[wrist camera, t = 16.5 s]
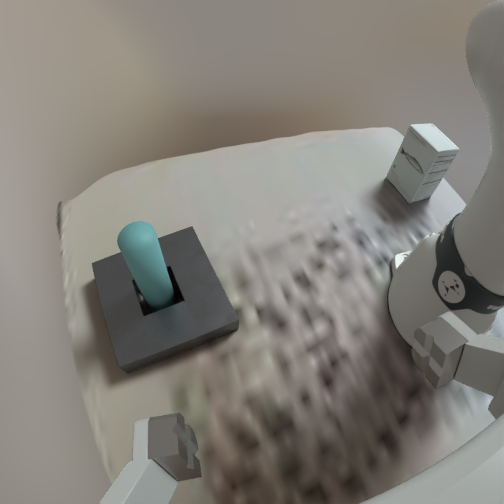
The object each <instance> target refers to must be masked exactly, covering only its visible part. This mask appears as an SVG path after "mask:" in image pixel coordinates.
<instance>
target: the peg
mask: <svg viewBox="0 0 504 504" xmlns="http://www.w3.org/2000/svg"><path fill="white" fill-rule="evenodd" d="M117 242H118V246H119V248H120V250H121V253H122V255H123V257H124V259H125V261H126V263H127V265H128V267H129V269H130V271H131V273H132V275H133V277H134V279H135V281H136V283H137V285H138V287H139V289H140V291H141V293H142V295H143V297H144V299H145V301H146V303H147V305H148V306H149V308H150V310H151V311H152V312H153V313H154V312H157V311H159V310H162V309H165V308H167V307H170V306H172V305H175V304H176V296H175V293H174V290H173V287H172V284H171V281H170V278H169V275H168V271H167V268H166V265H165V262H164V258H163V255H162V252H161V248H160V245H159V241H158V238H157V235H156V231H155V229H154V227H153V226H152V225H151V224H149V223H147V222H142V221H139V222H133V223H131V224H129V225H127V226H126V227H124V228H123V229H122V230H121V232H120V233H119V235H118V240H117Z"/></svg>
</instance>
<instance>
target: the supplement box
mask: <svg viewBox="0 0 504 504" xmlns="http://www.w3.org/2000/svg"><path fill="white" fill-rule="evenodd" d="M458 151H459V148H458V147H457V146H456V145H455V144H454V143H453V142H452V141H450V140H449V139H448V138H447V137H446V136H445V135H444V134H443V133H442V132H441V131H440V130H439V129H438V128H437V127H436V126H434V125H433V124H413V125H410V126H409V128H408V131H407V133H406V135H405V137H404V140H403V142H402V144H401V146H400V148H399V151H398V153H397V155H396V157H395V159H394V161H393V163H392V165H391V168H390V170H389V172H388V174H387V176H386V178H387V179H388V180H389V181H390V182H391V183H392V184H393V185H394V186H395V187H396V189H397V190H398V191H399V192H400V193H401V195H402V196H403V197H404V198H405V200H406V201H407V202H408V203H409V204H410V203H413V202H416V201H419V200H422V199H425V198H428V197H431V195H432V194H433V192H434V191H435V189H436V188H437V186H438V184H439V183H440V181H441V180H442V178H443V176H444V175H445V173H446V171H447V170H448V168H449V166H450V165H451V163H452V161H453V160H454V158H455V156H456V154H457V153H458Z"/></svg>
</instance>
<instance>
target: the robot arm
mask: <svg viewBox="0 0 504 504" xmlns="http://www.w3.org/2000/svg"><path fill="white" fill-rule="evenodd" d="M466 58H467V64H468V68H469V71H470V75H471V78H472V80H473V82H474V85H475V87H476V89H477V90H478V92H479V94H480V96H481V99H482V101H483V103H484V106H485V109H486V112H487V115H488V119H489V125H490V132H491V151H490V158H489V163H488V166H487V169H486V172H485V174H484V176H483V178H482V180H481V182H480V184H479V186H478V188H477V190H476V191H475V193H474V195H473V196H472V198H471V199H470V201H469V203H468V204H467V206H466V207H465V208H464V210H463V211H462V213H459V214H457V215H456V216H455V217H454V218H453V219H452V220H451V221H450V222H448V223H447V225H446V226H445V227H444V229H443V230H442V231H440V232H439V233H438V234H436V233H432V234H431V235H430V236H425V237H424V238H423V239H422V240H421V241H420V242H419V244H418V245H417V246H416V247H415V248H414V249H413V250H411V251H407V252H403V253H399V254H397V255H395V256H394V257H393V258H392V261H391V266H392V273H393V278H392V282H391V285H390V288H389V296H388V301H389V309H390V313H391V317H392V319H393V322H394V324H395V326H396V328H397V330H398V331H399V333H400V334H401V336H402V337H403V338H404V339H405V340H406V341H407V342H408V343H409V344H410V345H411V346H412V357H413V360H414V362H415V364H416V365H417V367H418V368H419V369H421V370H424V371H426V378H427V379H428V380H429V381H430V382H431V384H432V385H433V386H434V387H435V388H436V389H437V388H439V387H440V386H442V385H444V384H446V383H447V382H449V381H451V380H452V379H454V380H456V381H458V382H461V383H463V384H465V385H468V386H470V387H472V388H475V389H477V390H480V391H482V392H484V393H487V394H489V395H492V396H494V397H493V399H492V401H491V403H490V405H489V408H488V410H489V411H490V412H491V414H492V415H493V416H494V417H495V419H496V420H495V421H494V422H492V423H491V424H490V425H489V426H488V427H486V428H485V429H484V430H483V431H481V432H480V433H479V434H477V435H476V436H475V437H474V438H472V439H471V440H469V441H468V442H467V443H465V444H464V445H463V446H461V447H460V448H458V449H457V450H455V451H454V452H453V453H451V454H450V455H448V456H447V457H445V458H444V459H442V460H440V461H439V462H437V463H436V464H434V465H433V466H431V467H429V468H428V469H426V470H424V471H423V472H421V473H419V474H417V475H416V476H414V477H412V478H410V479H408V480H407V481H405V482H403V483H401V484H399V485H397V486H395V487H393V488H391V489H389V490H387V491H385V492H383V493H381V494H379V495H377V496H375V497H373V498H370V499H368V500H366V501H364V502H361V503H359V504H504V339H501V338H497V337H493V336H489V335H485V333H486V332H488V331H489V330H490V329H491V328H492V323H493V321H494V320H495V317H496V314H497V311H498V310H499V309H501V308H503V307H504V0H496V1H493V2H491V3H489V4H487V5H486V6H484V7H483V8H481V9H480V11H478V12H477V14H476V15H475V16H474V18H473V19H472V21H471V23H470V26H469V28H468V32H467V37H466ZM197 451H198V444H197V440H196V436H195V434H194V432H193V429H192V428H191V427H190V425H188V424H185V422H184V417H183V416H182V415H181V413H174V414H169V415H163V416H157V417H150V418H144V419H138V420H136V421H135V424H134V434H133V455H132V461H129V462H128V463H127V464H126V466H125V467H124V469H123V470H122V471H121V473H120V474H119V476H118V477H117V479H116V480H115V481H114V483H113V484H112V486H111V487H110V489H109V490H108V491H107V493H106V494H105V496H104V497H103V499H102V500H101V501H100V503H99V504H168V503H169V501H170V499H171V497H172V495H173V493H174V491H175V489H176V487H177V484H178V482H177V481H182V480H188V479H194V478H199V477H202V476H201V468H200V460H199V459H198V458H197V457H196V456H195V454H196V452H197Z"/></svg>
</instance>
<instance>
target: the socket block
mask: <svg viewBox="0 0 504 504" xmlns="http://www.w3.org/2000/svg"><path fill="white" fill-rule="evenodd" d="M158 241H159V245H160V248H161V252H162V255H163V258H164V262H165V265H166V268H167V271H168V275H169V278H170V279H173V278H174V279H175V282H176V284H177V287H178V289H179V291H180V294H181V296H182V298H183V302H180V303H177V304H175V305H172V306H170V307H167V308H165V309H162V310H159V311H157V312H154V313H152V314H149V315H146V314H145V311H144V309H143V306H142V303H141V300H140V297H139V294H138V292H139V291H140V289H139V287H138V285H137V283H136V281H135V279H134V277H133V275H132V273H131V271H130V269H129V267H128V265H127V263H126V261H125V259H124V257H123V255H122V253H121V252H120V253H117V254H115V255H112V256H109V257H107V258H104V259H102V260H99V261H97V262H94V263H92V267H93V272H94V277H95V281H96V286H97V290H98V294H99V298H100V303H101V307H102V310H103V314H104V318H105V322H106V325H107V329H108V332H109V336H110V339H111V343H112V346H113V349H114V352H115V356H116V359H117V362H118V365H119V367H120V368H121V369H123V370H124V371H125V372H127V373H129V372H132V371H135V370H137V369H140V368H143V367H146V366H148V365H151V364H154V363H156V362H159V361H161V360H164V359H167V358H169V357H172V356H174V355H177V354H179V353H182V352H185V351H187V350H190V349H192V348H194V347H197V346H199V345H202V344H204V343H207V342H209V341H212V340H214V339H216V338H219V337H221V336H223V335H226V334H228V333H231V332H233V331H235V330H238V327H239V318H238V317H237V315H236V313H235V311H234V309H233V307H232V305H231V303H230V301H229V299H228V297H227V295H226V293H225V291H224V289H223V287H222V285H221V283H220V281H219V279H218V277H217V276H216V274H215V272H214V270H213V268H212V266H211V264H210V261H209V259H208V257H207V255H206V253H205V251H204V249H203V247H202V245H201V243H200V241H199V239H198V237H197V235H196V233H195V231H194V229H193V227H189V228H186V229H183V230H180V231H177V232H175V233H172V234H169V235H166V236H163V237H161V238H158Z"/></svg>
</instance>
